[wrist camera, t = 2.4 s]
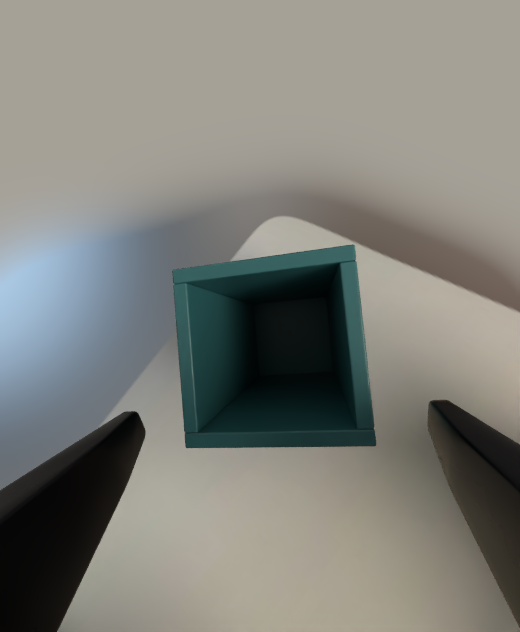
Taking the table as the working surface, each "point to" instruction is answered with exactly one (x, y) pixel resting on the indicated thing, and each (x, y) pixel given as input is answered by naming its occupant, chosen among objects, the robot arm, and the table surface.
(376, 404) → the table surface
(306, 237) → the table surface
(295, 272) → the bin
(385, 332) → the table surface
